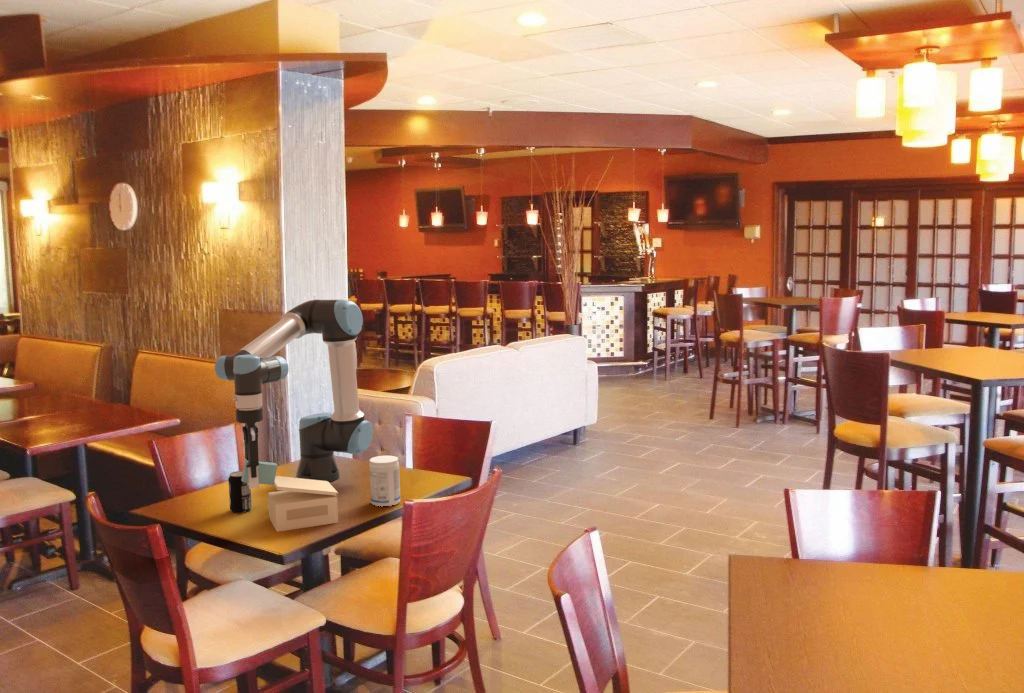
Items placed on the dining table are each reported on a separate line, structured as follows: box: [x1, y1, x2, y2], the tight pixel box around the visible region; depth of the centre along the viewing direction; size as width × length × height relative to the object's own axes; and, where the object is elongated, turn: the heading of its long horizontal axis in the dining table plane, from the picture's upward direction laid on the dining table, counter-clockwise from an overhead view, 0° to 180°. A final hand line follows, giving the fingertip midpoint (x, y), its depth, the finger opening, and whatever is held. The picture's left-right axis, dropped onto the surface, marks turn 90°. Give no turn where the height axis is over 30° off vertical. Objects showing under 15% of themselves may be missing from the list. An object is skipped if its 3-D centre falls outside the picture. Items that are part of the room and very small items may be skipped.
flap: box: [241, 459, 339, 497], centre depth 253 cm, size 14×27×6 cm, turn 115°
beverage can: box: [227, 470, 253, 514], centre depth 266 cm, size 7×7×12 cm
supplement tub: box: [368, 455, 401, 508], centre depth 271 cm, size 10×10×15 cm
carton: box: [267, 490, 339, 532], centre depth 256 cm, size 14×18×8 cm
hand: (253, 485), depth 249 cm, fingers closed on flap, 3 cm apart
